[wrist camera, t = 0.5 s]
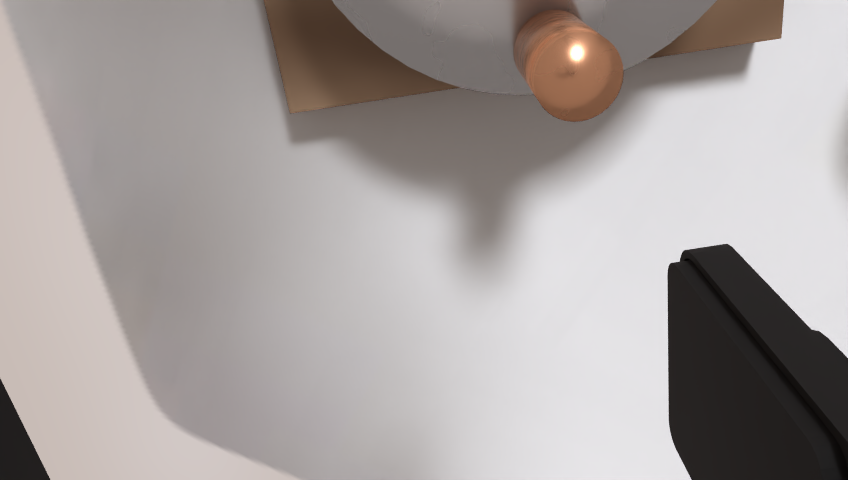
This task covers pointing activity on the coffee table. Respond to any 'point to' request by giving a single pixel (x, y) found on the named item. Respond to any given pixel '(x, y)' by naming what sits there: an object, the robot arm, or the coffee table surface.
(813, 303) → the coffee table surface
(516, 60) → the handwheel
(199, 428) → the coffee table surface
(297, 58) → the wheel base
